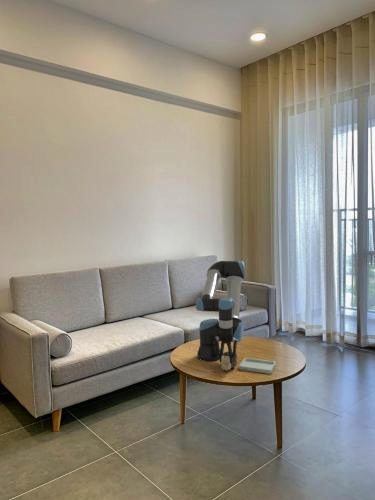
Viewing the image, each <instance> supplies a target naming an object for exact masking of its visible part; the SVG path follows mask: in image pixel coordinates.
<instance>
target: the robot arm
mask: <svg viewBox="0 0 375 500" xmlns="http://www.w3.org/2000/svg"><path fill="white" fill-rule="evenodd" d="M245 266H246V265H245V262H244V261H242V260H219V261H217V262H214V263H213V264H212V265H211V266H210V267H209V268H208V270H207V272H206V281H205V284H204V288H203V291H202V295H201V297H198V298H196V299H195V309H196V311H198V312H218V318H208V319H204V320H202V321H200V322H199V328H198V329H199V347H198V350H197V355H196V356H197V357H198V358H199V359H198V358H197V359H198V360H200V359H201V360H200V361H203V360H205V361H204V362H216V361H219V363H222V359H223V358H224V355H223V353H224V349H225V344H226V346H227V350H228V351H229V358H228V369H229V370H231V369H232V368H231V363H232V362H233V357H235V356H236V354H237V348H238V347H237V343H240V342H241V341H242V339H243V336H244V329H245V324H244V323H243V322H242V319H241V318H240V310H241V288H242V283H243V282H244V280H245V279H247V277H246V268H245ZM222 279H225V282H227V284H226V285H227V289H226V297H223V298H215V296H216V291H217V288H218V284H219V281H220V280H222ZM232 343H233V345H232ZM228 351H227V352H228ZM232 352H233V354H232ZM229 370H228V371H229Z"/></svg>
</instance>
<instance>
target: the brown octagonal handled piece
mask: <svg viewBox="0 0 375 500" xmlns="http://www.w3.org/2000/svg"><path fill="white" fill-rule="evenodd" d="M227 352H228V351H225V352H223V355H224V358H223V359H222V362H221V369H222V370H223V371H229V369H228V358H229V356H227ZM232 354H233V351H232ZM237 365H238V354H237V353H236V356H235V357H233V362H232V363H231V367H233V368H234V367H236V366H237Z"/></svg>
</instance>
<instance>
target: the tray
mask: <svg viewBox="0 0 375 500" xmlns="http://www.w3.org/2000/svg"><path fill="white" fill-rule="evenodd" d="M276 366H277V361H275V360H268V359H258V358H250V357H244V358H243V360H242V361H241V362H240V363H239V365H238V367H237V368H238V371H239V370H241V371H248V372H253V373H262V374H267V375H268V374H269V375H270V374H273V372H274V370H275V367H276Z"/></svg>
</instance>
